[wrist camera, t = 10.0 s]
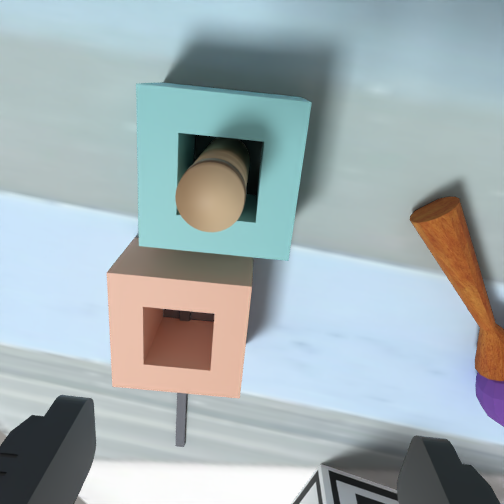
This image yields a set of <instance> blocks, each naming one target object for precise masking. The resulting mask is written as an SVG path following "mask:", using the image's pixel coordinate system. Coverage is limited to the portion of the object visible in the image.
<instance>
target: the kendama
mask: <svg viewBox="0 0 504 504" xmlns="http://www.w3.org/2000/svg"><path fill="white" fill-rule="evenodd" d="M410 221H411V222H412V224H413V225H414V227H415V229H416V230H417V232H418V233H419V235H420V236H421V238H422V239H423V241H424V242H425V244H426V245H427V247H428V248H429V250H430V252H431V253H432V255H433V256H434V258H435V259H436V261H437V262H438V264H439V265H440V267H441V268H442V270H443V272H444V273H445V275H446V276H447V278H448V279H449V281H450V282H451V284H452V285H453V287H454V288H455V290H456V292H457V293H458V295H459V296H460V298H461V299H462V301H463V302H464V304H465V305H466V307H467V308H468V310H469V312H470V313H471V315H472V316H473V318H474V319H475V321H476V322H477V324H478V325H479V327H480V330H479V337H478V343H477V350H476V356H475V369H476V370H477V371H478V373H477V376H476V396H477V398H478V400H479V402H480V404H481V406H482V408H483V409H484V410H485V412H486V413H487V415H488V416H489V417H490V418H492V419H493V420H495V421H496V422H497V423H499V424H500V425H502V426H504V329H503V328H502V327H500V326H499V325H498V324H496V323H495V319H494V316H493V312H492V309H491V306H490V302H489V299H488V295H487V292H486V288H485V285H484V282H483V278H482V275H481V271H480V268H479V265H478V261H477V258H476V254H475V251H474V247H473V244H472V241H471V237H470V234H469V230H468V227H467V224H466V220H465V217H464V213H463V210H462V206H461V203H460V200H459V198H457V197H444V198H439V199H437V200H435V201H433V202H431V203H429V204H427V205H425V206H423V207H421V208H419V209H417V210H416V211H414V212H413V214H412V215H411V216H410Z"/></svg>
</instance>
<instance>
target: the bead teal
mask: <svg viewBox="0 0 504 504" xmlns="http://www.w3.org/2000/svg"><path fill="white" fill-rule="evenodd" d="M136 97H137V163H138V229H139V246H143V247H153V248H163V249H173V250H183V251H193V252H204V253H214V254H224V255H234V256H244V257H254V258H264V259H274V260H285V261H288V260H289V253H290V246H291V239H292V233H293V226H294V219H295V212H296V206H297V199H298V192H299V185H300V178H301V172H302V165H303V158H304V151H305V145H306V138H307V131H308V124H309V117H310V111H311V104H312V102H310V101H308V100H306V99H304V98H302V97H295V96H286V95H276V94H267V93H257V92H248V91H238V90H229V89H220V88H210V87H201V86H191V85H182V84H173V83H163V82H162V83H141V84H136ZM195 134H196V135H205V136H215V137H224V138H234V139H244V140H253V141H263V142H262V151H261V161H260V170H259V180H258V189H257V195H251V194H246V200H245V205H244V208H243V210H242V213H241V215H240V217H239V218H238V220H237V221H236V222H235V223H234V224H233V225H232V226H230V227H229V228H227V229H225V230H222V231H219V232H204V231H200V230H197V229H195V228H193V227H192V226H190V225H189V224H188V223H187V222H186V221H185V220H184V219H183V218H182V217H181V215H180V213H179V211H178V209H177V206H176V200H175V195H176V189H177V186H178V184H179V182H180V180H181V178H182V176H183V174H184V173H185V172H186V171H187V169H188V168H189V167H190V166H191V165H193V164H194V145H195Z"/></svg>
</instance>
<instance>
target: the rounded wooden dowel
mask: <svg viewBox="0 0 504 504" xmlns="http://www.w3.org/2000/svg"><path fill="white" fill-rule="evenodd" d="M249 166H250V155H249V151H248V149H247V147H246V146H245V145H244V144H243V142H241V141H240V140H239V139H234V138H224V137H218V138H216V139H214V140H213V141H212V142H211V143H210V144H209V145H208V146H207V147H206V149H205V150H204V151H203V152H202V154H201V155H200V156H199V157H198V159H197V160H196V161H195V162H194V164H193V165H191V166H190V167H189V168H188V169H187V171H186V172H185V173H184V174H183V176H182V178H181V180H180V182H179V184H178V186H177V189H176V195H175V200H176V206H177V209H178V211H179V213H180V215H181V217H182V218H183V219H184V220H185V221H186V222H187V223H188V224H189V225H190V226H192V227H193V228H195V229H197V230H200V231H204V232H219V231H222V230H225V229H227V228H229V227H230V226H232V225H233V224H234V223H235V222H236V221H237V220H238V218H239V217H240V215H241V213H242V210H243V208H244V205H245V200H246V186H247V179H248V173H249Z"/></svg>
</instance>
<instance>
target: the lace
mask: <svg viewBox="0 0 504 504" xmlns="http://www.w3.org/2000/svg"><path fill="white" fill-rule="evenodd" d="M180 321H190V311H182V310H180ZM186 399H187V393H177V418H176V446H179V447H184V445H185V422H186Z"/></svg>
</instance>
